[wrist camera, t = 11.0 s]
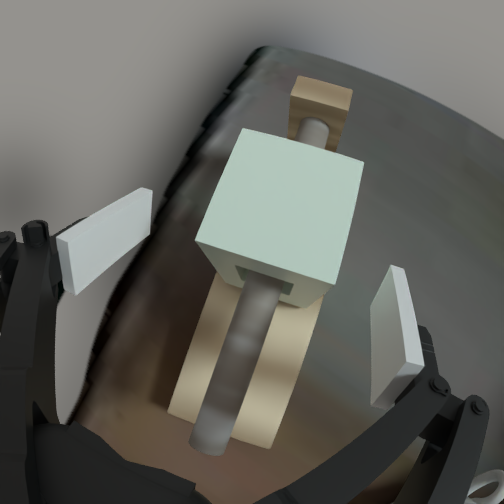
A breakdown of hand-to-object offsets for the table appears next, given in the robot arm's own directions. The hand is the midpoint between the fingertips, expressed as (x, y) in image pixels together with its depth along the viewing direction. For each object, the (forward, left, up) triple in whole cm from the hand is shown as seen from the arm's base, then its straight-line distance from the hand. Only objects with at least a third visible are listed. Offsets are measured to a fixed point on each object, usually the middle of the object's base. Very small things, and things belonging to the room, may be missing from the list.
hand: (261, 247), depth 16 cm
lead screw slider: (0, +1, -9) cm, 9 cm away
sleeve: (-2, -1, -7) cm, 7 cm away
